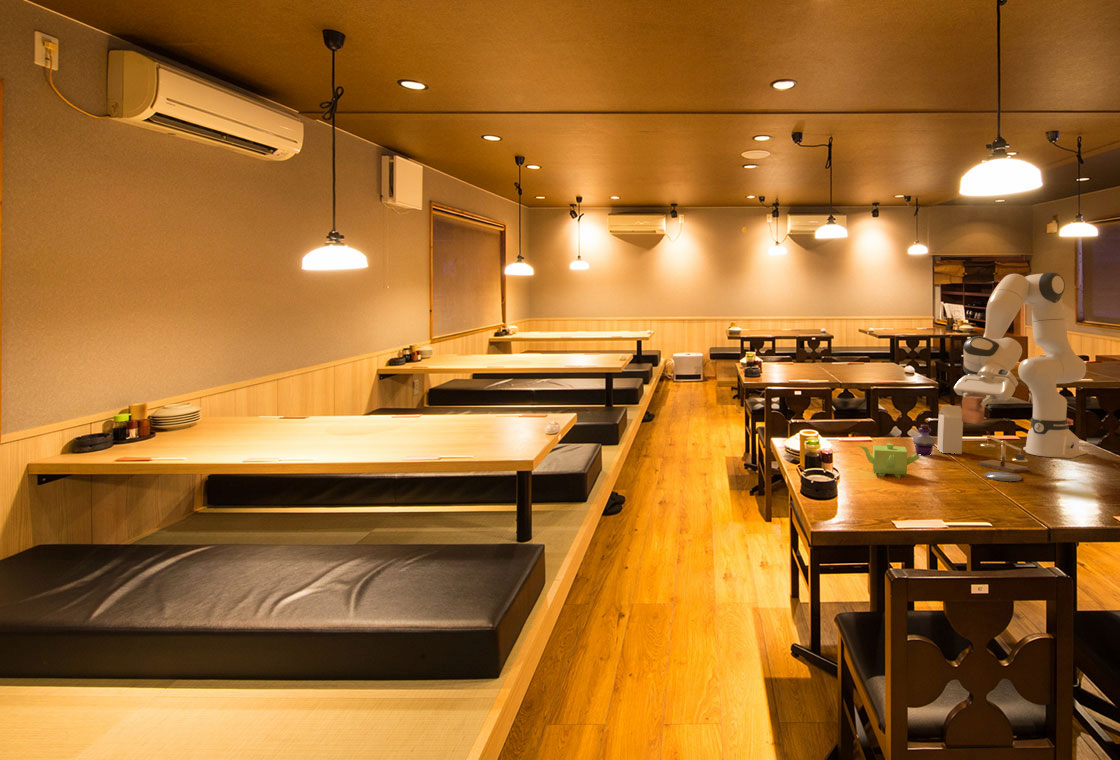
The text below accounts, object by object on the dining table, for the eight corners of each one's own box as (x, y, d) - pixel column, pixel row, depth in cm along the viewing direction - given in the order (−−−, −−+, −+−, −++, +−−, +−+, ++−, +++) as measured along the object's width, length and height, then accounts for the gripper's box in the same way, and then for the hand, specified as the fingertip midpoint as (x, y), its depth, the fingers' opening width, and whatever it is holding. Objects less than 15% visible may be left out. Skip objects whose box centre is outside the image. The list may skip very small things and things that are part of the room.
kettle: (857, 472, 265) (858, 442, 264) (885, 468, 272) (886, 438, 270) (892, 481, 252) (893, 449, 251) (920, 476, 258) (921, 445, 257)
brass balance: (987, 461, 278) (989, 433, 277) (1033, 471, 262) (1035, 441, 261) (973, 463, 275) (974, 435, 274) (1018, 473, 259) (1020, 443, 258)
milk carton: (961, 454, 292) (963, 407, 290) (942, 453, 293) (944, 407, 291) (955, 450, 299) (957, 404, 296) (937, 450, 300) (938, 404, 298)
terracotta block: (971, 420, 265) (972, 395, 264) (983, 422, 261) (985, 397, 260) (961, 421, 263) (962, 396, 262) (974, 423, 259) (975, 398, 258)
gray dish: (998, 472, 261) (998, 470, 261) (1028, 479, 251) (1028, 477, 251) (977, 476, 257) (977, 473, 257) (1007, 483, 247) (1007, 480, 247)
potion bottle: (923, 451, 298) (924, 422, 297) (940, 455, 290) (942, 425, 289) (906, 453, 296) (907, 424, 294) (923, 457, 288) (924, 427, 286)
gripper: (961, 368, 272) (942, 395, 269) (1015, 372, 254) (995, 402, 251) (969, 379, 275) (950, 406, 272) (1023, 384, 256) (1003, 414, 253)
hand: (972, 404), depth 261 cm, fingers closed on terracotta block, 5 cm apart
